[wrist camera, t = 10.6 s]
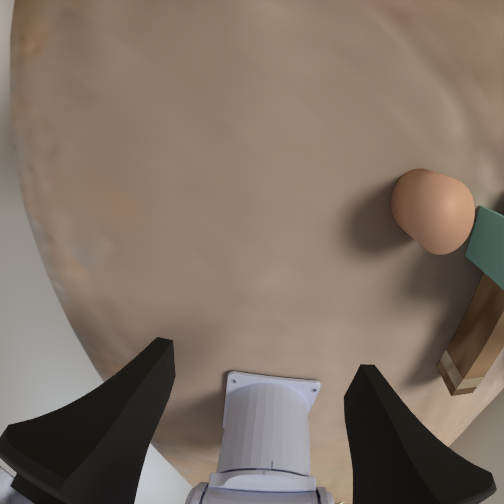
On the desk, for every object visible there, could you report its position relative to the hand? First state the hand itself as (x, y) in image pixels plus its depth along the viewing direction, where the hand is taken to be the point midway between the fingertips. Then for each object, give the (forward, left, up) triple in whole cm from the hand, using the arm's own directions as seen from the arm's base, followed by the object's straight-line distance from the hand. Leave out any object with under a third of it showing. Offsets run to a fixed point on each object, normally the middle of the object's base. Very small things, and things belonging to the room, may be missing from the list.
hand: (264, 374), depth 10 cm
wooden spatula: (+1, -19, -9) cm, 21 cm away
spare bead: (+6, -9, -10) cm, 14 cm away
